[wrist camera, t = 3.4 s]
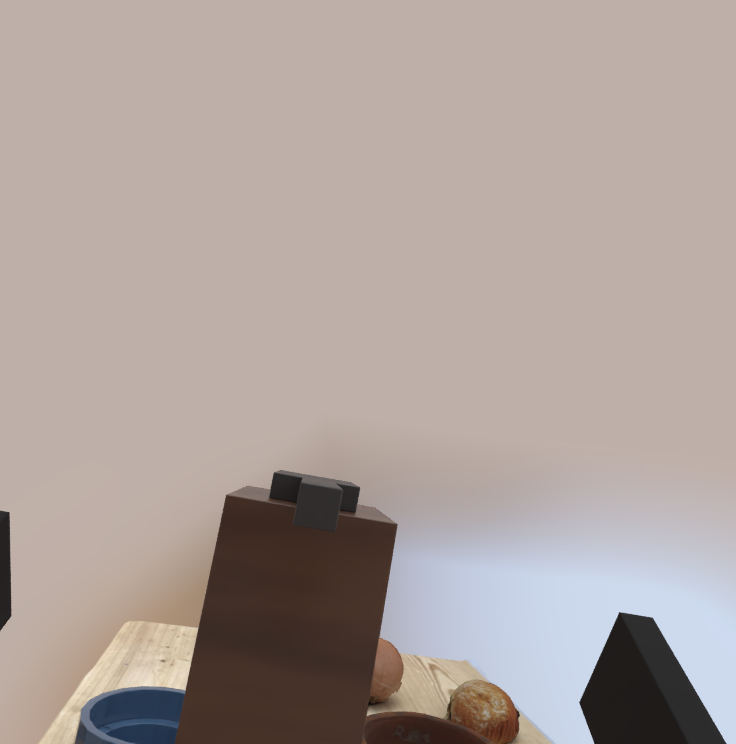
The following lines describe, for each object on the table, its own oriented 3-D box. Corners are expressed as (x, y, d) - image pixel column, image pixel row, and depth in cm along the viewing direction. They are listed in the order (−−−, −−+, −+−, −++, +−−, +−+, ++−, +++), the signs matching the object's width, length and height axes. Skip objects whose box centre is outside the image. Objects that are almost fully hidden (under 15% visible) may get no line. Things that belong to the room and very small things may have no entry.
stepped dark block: (379, 540, 25) (386, 496, 26) (247, 518, 25) (256, 474, 25) (347, 503, 46) (352, 479, 46) (275, 491, 46) (280, 467, 46)
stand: (299, 1127, 31) (397, 523, 35) (99, 1106, 30) (226, 494, 35) (302, 940, 42) (375, 507, 47) (158, 923, 42) (247, 485, 46)
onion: (348, 709, 92) (349, 638, 98) (410, 706, 90) (406, 634, 96) (331, 702, 84) (333, 626, 90) (398, 700, 83) (395, 622, 88)
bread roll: (444, 737, 89) (429, 682, 90) (507, 712, 91) (492, 659, 92) (467, 772, 80) (451, 710, 80) (537, 743, 82) (520, 683, 82)
